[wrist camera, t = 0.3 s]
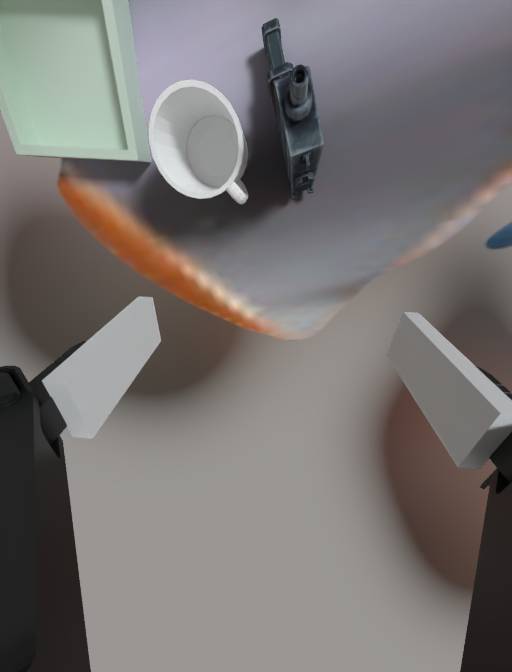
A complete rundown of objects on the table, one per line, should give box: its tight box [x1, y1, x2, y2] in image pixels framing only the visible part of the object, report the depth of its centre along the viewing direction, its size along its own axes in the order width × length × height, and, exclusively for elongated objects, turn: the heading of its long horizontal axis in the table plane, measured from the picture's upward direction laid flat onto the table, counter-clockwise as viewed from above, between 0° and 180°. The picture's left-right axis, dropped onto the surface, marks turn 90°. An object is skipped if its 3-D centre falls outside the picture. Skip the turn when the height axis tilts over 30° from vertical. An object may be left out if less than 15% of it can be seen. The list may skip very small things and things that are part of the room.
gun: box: [262, 18, 324, 199], centre depth 23 cm, size 3×17×15 cm
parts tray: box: [0, 0, 151, 162], centre depth 28 cm, size 15×15×4 cm
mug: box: [149, 80, 248, 204], centre depth 29 cm, size 11×9×10 cm
